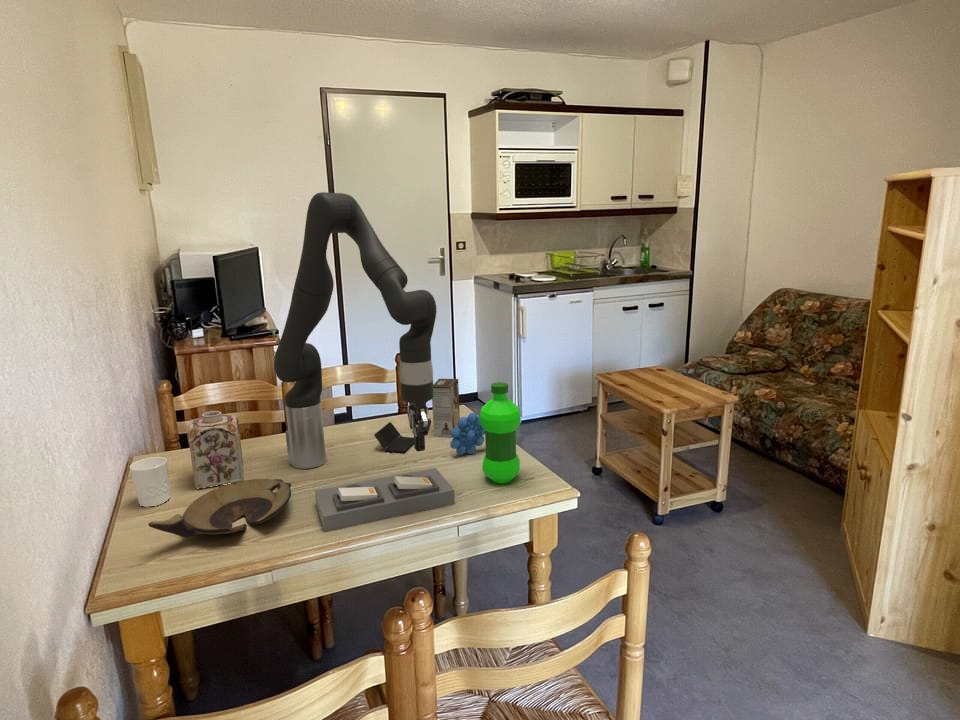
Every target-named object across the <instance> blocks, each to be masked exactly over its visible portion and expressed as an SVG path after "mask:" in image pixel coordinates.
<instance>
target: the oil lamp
mask: <svg viewBox="0 0 960 720" xmlns="http://www.w3.org/2000/svg"><path fill="white" fill-rule="evenodd" d="M291 487H292V483H290V482H285V481H284V480H282V479H281V478H276V479H275V478H274V479H272V478H270V479H269V478H254V479H253V478H252V479H244V481H239V482H235V483H231V484H227V485H223V486H218V488H214V489H212V490H210V491H208V492H206V493H204V494H203V495H201V496H200V497H197V499H195V500H193V502H192V503H190V505H189V506H188V507H187V508H186V509H185V511H184V512H183V514H179V513H177V514H174V515H173V516H172V517H170V518H168V519H166V520H159V521H157V520H156V521H154V520H152V521H150V522H149V523H148V527H149V528H153V529H155V530H157V531H162V532H166V533H169V534H173V535H176V536H179V537H182V538H193V537H195V536H196V535H203V534H204V535H205V534H207V535H223V534H230V533H236V532H240V531H243V530H245V529H246V528H247V527H248V525H247V524H249V525H250V526H255V525H260V524H262V523H264V522H266V521H269V520H271V518H274V516H276V515H277V514H279V512H281V511H282V510H283V509H284V508H285V507H286V506H287V505H288V504H289V502H290V500H291V498H292V490H291ZM276 489H277V490H276ZM274 490H276V491H275V492H274ZM242 517H245V520H246V523H243V524H240V525H237V526H233V523H234V522H236V521H238V520H239V519H241V518H242ZM232 522H233V523H232Z"/></svg>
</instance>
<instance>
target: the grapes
mask: <svg viewBox="0 0 960 720" xmlns="http://www.w3.org/2000/svg"><path fill="white" fill-rule="evenodd" d="M457 424H458V427H455V428H453V429H452V431H451V436H452V437H451V438H452V439H451V441H450V448H451V449H453V450H455V451H456V453H457V455H458V456H463V455H464V454H465V453H466V454H468V455H471V454H474V452H475V451H476V449H477V447H480V446H482V445H483V444H484V442H485V437H484V436H485V430H484V429H483V428H482V427H481V424H480V415H477V413H476V412H471V413H469V414H468V415H467V417H466V416H460V419H459V420H458V423H457Z"/></svg>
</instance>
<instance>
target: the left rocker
mask: <svg viewBox="0 0 960 720" xmlns="http://www.w3.org/2000/svg"><path fill="white" fill-rule="evenodd" d="M338 494H339V496H340V499H341V501H357V500H368V499H373V498H377V496H378V494H377V493H376V491H375V489H374V487H354V488H339V489H338Z"/></svg>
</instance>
